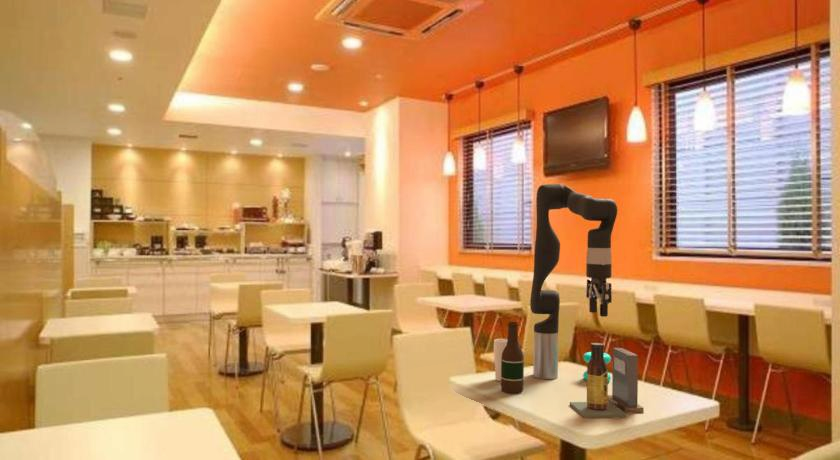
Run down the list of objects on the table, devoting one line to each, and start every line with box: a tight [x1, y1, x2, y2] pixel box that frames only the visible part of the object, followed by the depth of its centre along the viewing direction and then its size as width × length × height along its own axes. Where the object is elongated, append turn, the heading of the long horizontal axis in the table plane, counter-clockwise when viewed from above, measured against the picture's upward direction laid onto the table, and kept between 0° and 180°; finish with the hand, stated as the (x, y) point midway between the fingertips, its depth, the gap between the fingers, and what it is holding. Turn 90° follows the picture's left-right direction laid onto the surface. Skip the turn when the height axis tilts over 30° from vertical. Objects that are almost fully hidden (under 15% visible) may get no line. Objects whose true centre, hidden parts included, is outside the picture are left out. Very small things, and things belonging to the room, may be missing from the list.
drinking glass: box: [493, 338, 508, 382], centre depth 220 cm, size 7×7×15 cm
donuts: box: [582, 351, 612, 382], centre depth 222 cm, size 10×10×10 cm
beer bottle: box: [500, 321, 525, 395], centre depth 205 cm, size 8×8×24 cm
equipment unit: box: [608, 347, 644, 414], centre depth 189 cm, size 14×6×18 cm, turn 5°
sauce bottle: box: [586, 342, 609, 410], centre depth 183 cm, size 6×6×20 cm
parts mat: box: [569, 401, 627, 419], centre depth 183 cm, size 13×13×1 cm
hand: (598, 314), depth 183 cm, fingers open, 8 cm apart
